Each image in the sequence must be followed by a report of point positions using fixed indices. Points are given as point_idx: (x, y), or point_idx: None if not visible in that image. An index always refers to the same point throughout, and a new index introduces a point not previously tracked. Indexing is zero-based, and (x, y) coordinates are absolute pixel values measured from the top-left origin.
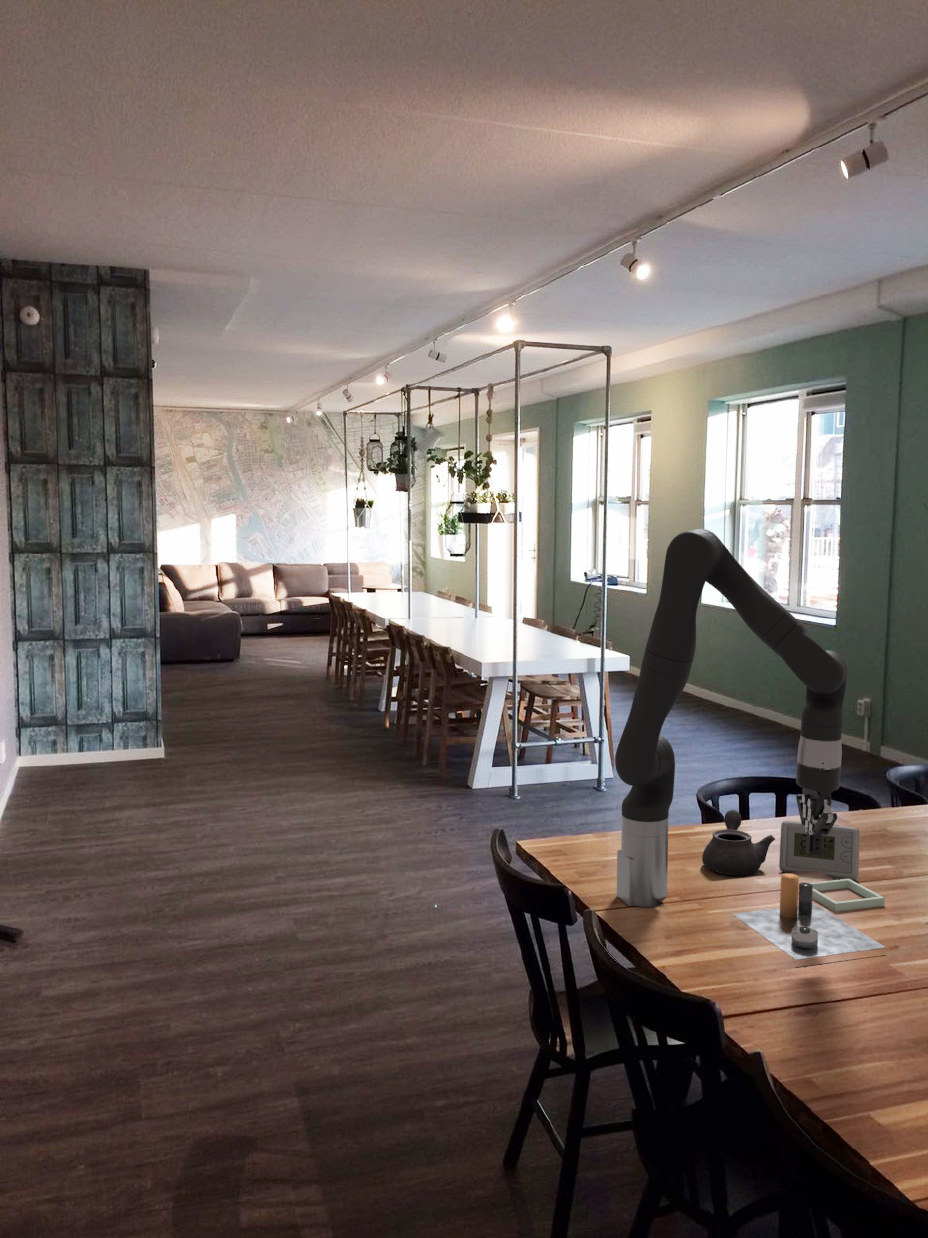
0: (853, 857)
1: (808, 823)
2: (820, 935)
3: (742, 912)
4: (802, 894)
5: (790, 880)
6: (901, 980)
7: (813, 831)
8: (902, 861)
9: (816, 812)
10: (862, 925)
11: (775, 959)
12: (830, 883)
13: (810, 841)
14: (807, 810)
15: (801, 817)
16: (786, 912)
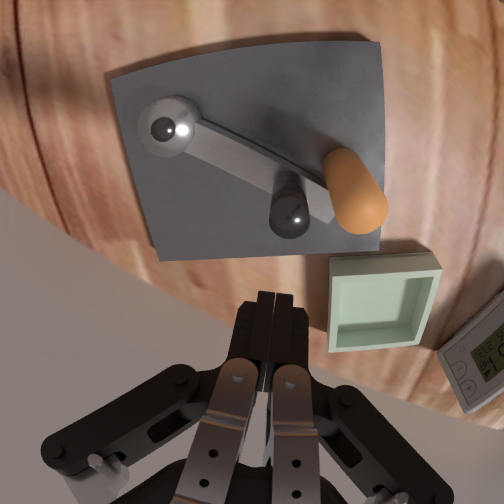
0: (451, 375)
1: (271, 412)
2: (217, 177)
3: (382, 70)
4: (279, 195)
5: (337, 197)
6: (86, 227)
7: (180, 378)
8: (443, 401)
9: (152, 484)
10: (290, 284)
11: (158, 51)
12: (421, 314)
13: (251, 334)
14: (271, 484)
15: (367, 420)
16: (329, 157)
